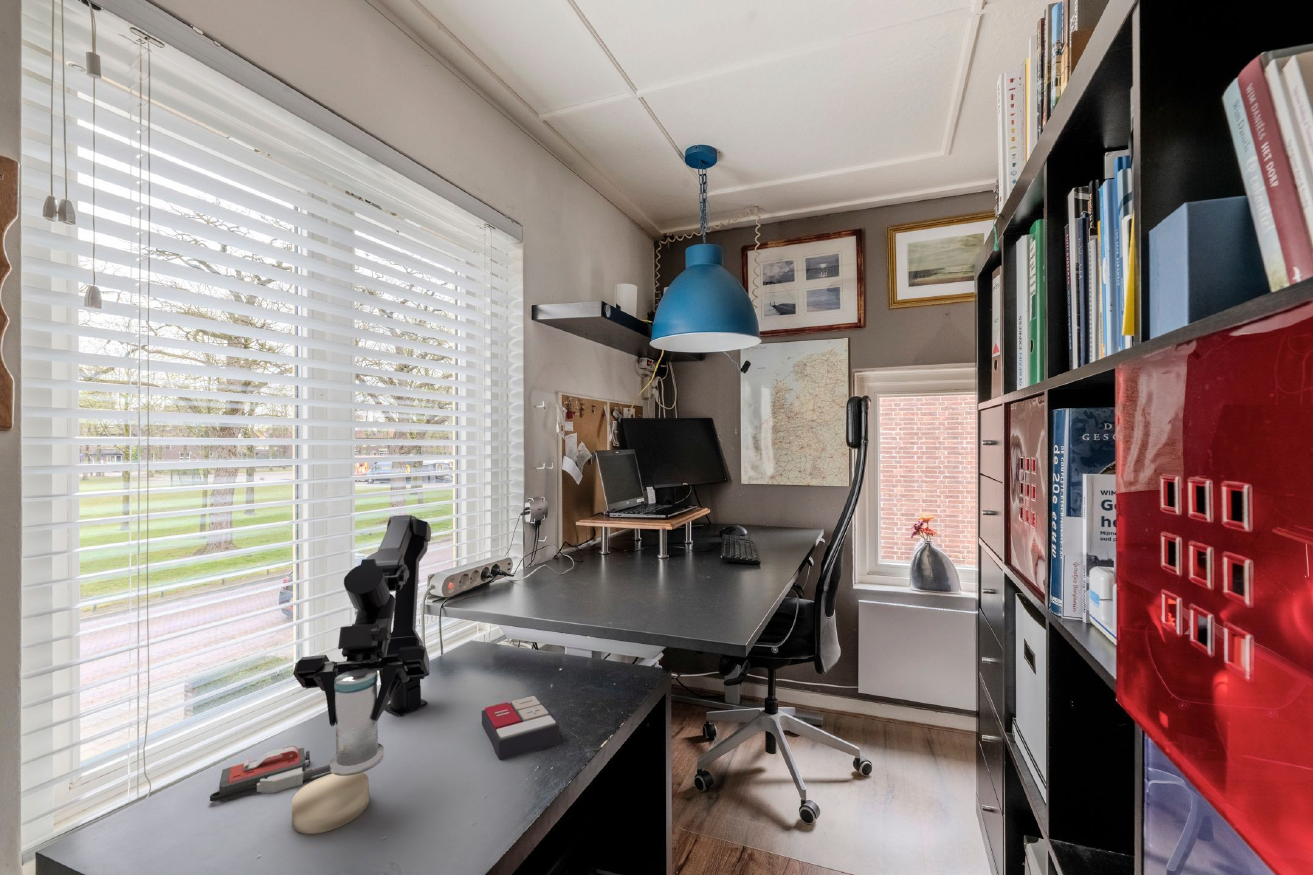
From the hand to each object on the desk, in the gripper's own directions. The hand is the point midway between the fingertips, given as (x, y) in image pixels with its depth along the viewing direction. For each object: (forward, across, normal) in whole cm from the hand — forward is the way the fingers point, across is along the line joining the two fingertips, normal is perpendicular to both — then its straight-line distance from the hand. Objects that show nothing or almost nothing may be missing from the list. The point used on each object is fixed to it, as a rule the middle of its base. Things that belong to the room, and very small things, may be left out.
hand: (353, 722), depth 83 cm
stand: (+8, -4, +11) cm, 14 cm away
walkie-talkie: (+1, -14, +20) cm, 24 cm away
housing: (+4, 0, +6) cm, 7 cm away
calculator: (-2, +23, +22) cm, 32 cm away
